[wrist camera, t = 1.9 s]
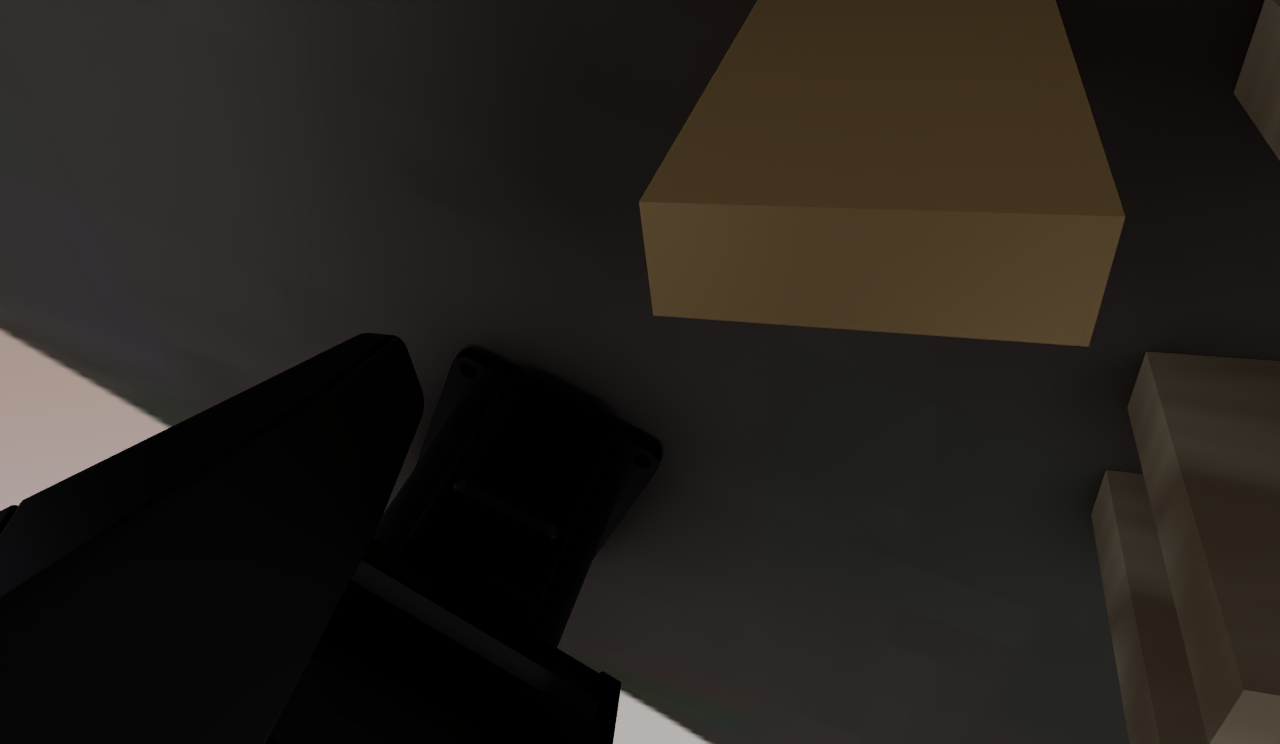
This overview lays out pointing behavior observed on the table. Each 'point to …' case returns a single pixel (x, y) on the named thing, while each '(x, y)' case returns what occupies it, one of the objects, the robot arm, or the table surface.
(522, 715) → the robot arm
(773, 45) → the domino
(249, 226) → the table surface
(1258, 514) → the domino
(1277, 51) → the domino
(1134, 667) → the domino
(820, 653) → the table surface
